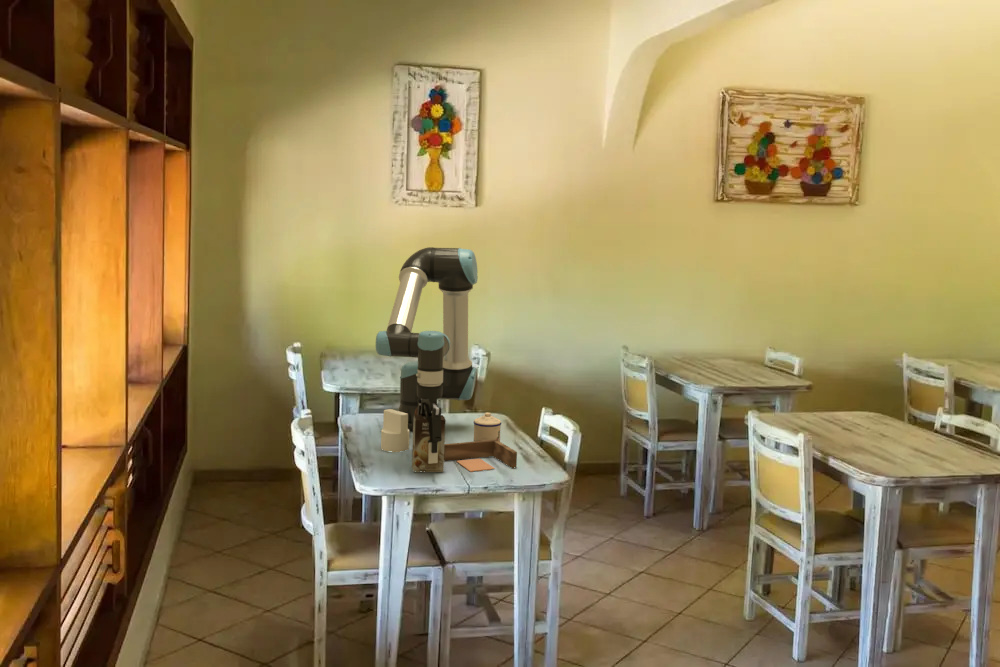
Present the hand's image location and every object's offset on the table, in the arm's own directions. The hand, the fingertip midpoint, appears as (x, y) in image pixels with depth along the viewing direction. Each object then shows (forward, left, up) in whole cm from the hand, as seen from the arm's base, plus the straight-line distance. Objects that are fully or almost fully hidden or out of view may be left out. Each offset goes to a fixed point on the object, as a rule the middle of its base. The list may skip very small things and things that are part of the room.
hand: (428, 459), depth 264 cm
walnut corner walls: (-1, +17, -3) cm, 17 cm away
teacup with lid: (-18, +27, -3) cm, 33 cm away
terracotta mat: (+1, +15, -3) cm, 15 cm away
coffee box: (0, 0, -3) cm, 3 cm away
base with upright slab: (-25, -2, -3) cm, 25 cm away
